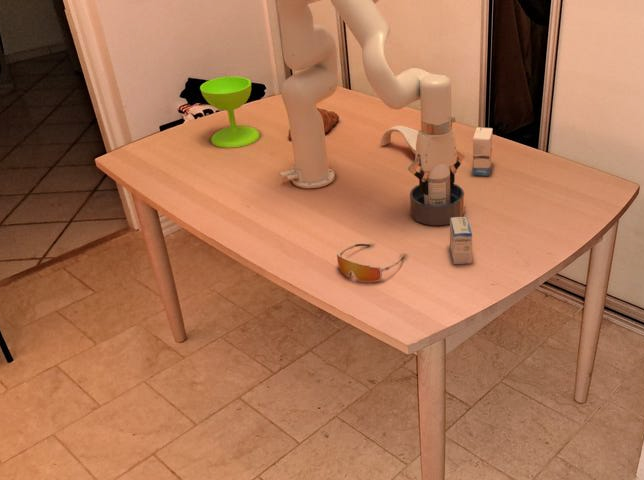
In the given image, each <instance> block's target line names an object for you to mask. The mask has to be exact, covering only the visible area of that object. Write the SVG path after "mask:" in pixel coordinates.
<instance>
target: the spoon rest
mask: <svg viewBox="0 0 644 480" xmlns="http://www.w3.org/2000/svg"><path fill="white" fill-rule="evenodd" d="M418 131H419V130H417V129H414V128H411V127H409V126H405V125H394V126H392V127H390V128H388V129H387V130H385V131H384V132H383V134H382V135H381V138H380V146H382V147H384V146H386V145H388V144H390V143H391V141H392V133H395V132H397V133H399V134H401V135H402V137H403V138H404V140H405V142H406V144H407V145H408V147H409V149H410V150H411V151H412V153H413V154H414V155H415V153H416V141H417V135H418Z"/></svg>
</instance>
